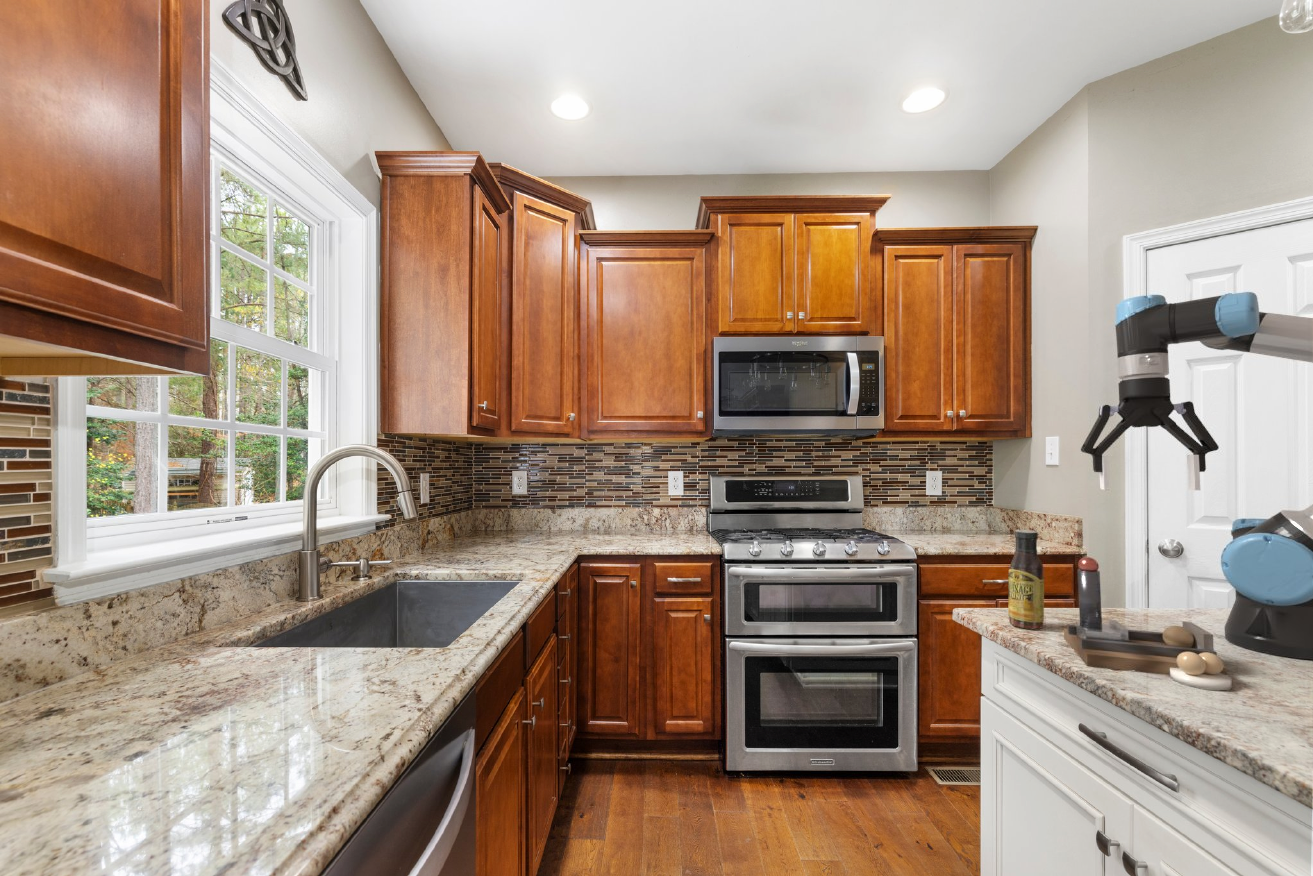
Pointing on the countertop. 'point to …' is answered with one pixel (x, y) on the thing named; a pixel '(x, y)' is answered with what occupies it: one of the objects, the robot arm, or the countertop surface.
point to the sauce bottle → (1026, 583)
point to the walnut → (1178, 637)
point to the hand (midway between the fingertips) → (1148, 489)
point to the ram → (1094, 606)
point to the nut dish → (1202, 680)
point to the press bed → (1138, 650)
